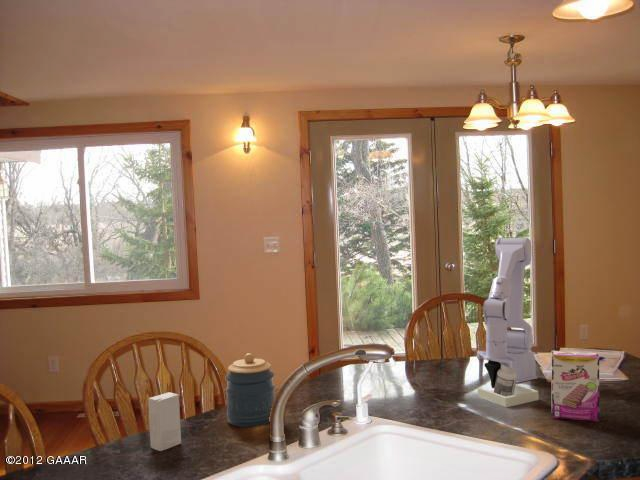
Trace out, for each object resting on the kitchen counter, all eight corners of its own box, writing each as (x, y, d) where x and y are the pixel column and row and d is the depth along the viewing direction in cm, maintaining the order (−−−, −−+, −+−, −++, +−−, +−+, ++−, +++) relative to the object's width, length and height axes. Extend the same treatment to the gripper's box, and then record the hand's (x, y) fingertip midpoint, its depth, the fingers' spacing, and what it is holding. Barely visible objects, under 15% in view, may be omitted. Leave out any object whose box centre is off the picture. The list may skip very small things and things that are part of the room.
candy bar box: (552, 419, 153) (550, 354, 152) (551, 412, 158) (550, 350, 157) (600, 422, 149) (599, 356, 149) (598, 416, 154) (597, 352, 153)
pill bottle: (499, 388, 176) (504, 358, 173) (516, 396, 172) (522, 365, 169) (489, 394, 172) (495, 364, 169) (507, 403, 169) (513, 371, 166)
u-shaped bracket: (509, 390, 178) (509, 381, 178) (538, 400, 168) (538, 391, 168) (477, 397, 173) (477, 388, 173) (505, 407, 163) (505, 398, 163)
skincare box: (171, 440, 148) (168, 391, 147) (182, 444, 145) (180, 394, 144) (149, 448, 143) (146, 397, 142) (160, 452, 140) (158, 400, 139)
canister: (236, 431, 152) (233, 361, 151) (220, 417, 163) (217, 352, 163) (284, 421, 158) (281, 354, 157) (265, 408, 169) (262, 345, 169)
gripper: (468, 337, 178) (468, 383, 178) (503, 346, 165) (503, 396, 165) (487, 335, 181) (487, 380, 182) (523, 344, 168) (523, 392, 168)
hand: (496, 387), depth 174 cm, fingers closed, pressing on pill bottle
